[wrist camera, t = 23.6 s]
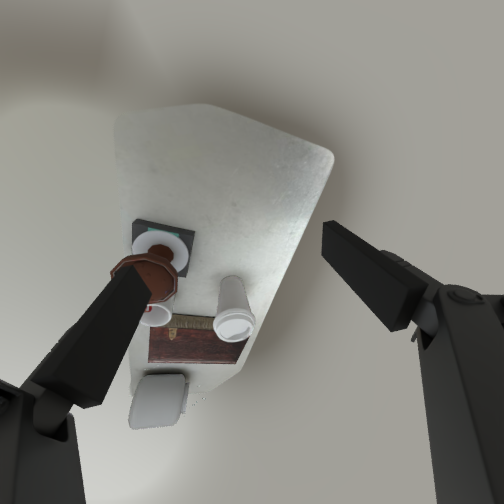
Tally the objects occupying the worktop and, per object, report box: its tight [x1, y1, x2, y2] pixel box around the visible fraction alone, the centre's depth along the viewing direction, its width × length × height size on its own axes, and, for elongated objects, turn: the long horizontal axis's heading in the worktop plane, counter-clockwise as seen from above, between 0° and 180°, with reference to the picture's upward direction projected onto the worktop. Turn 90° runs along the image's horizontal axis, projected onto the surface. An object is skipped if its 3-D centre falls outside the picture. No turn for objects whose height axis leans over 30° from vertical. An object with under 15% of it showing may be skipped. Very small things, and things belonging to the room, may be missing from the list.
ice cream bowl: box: [110, 244, 178, 304], centre depth 33 cm, size 11×11×15 cm
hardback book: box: [148, 314, 250, 364], centre depth 58 cm, size 29×19×5 cm, turn 72°
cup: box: [140, 294, 175, 327], centre depth 45 cm, size 11×8×8 cm
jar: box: [128, 369, 204, 429], centre depth 65 cm, size 19×15×25 cm
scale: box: [132, 219, 195, 278], centre depth 41 cm, size 12×12×3 cm
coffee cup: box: [213, 276, 255, 342], centre depth 45 cm, size 10×10×15 cm
